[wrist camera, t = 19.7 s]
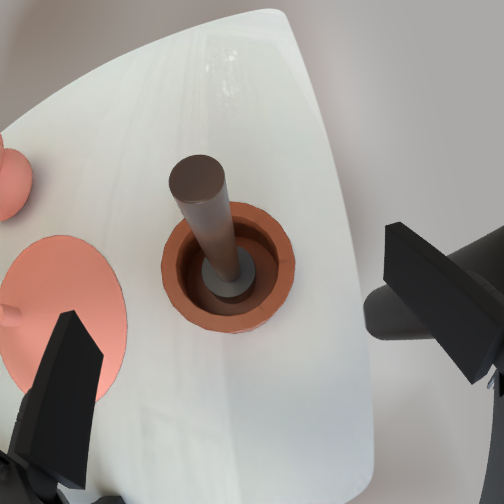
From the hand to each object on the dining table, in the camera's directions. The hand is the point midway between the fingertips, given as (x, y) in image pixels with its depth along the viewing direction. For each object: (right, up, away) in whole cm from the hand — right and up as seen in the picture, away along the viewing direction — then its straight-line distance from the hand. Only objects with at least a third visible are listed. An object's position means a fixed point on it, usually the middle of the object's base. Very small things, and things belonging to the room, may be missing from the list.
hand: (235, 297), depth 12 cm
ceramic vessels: (-26, -1, +19) cm, 32 cm away
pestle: (-1, -1, +18) cm, 18 cm away
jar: (-1, -1, +19) cm, 19 cm away
